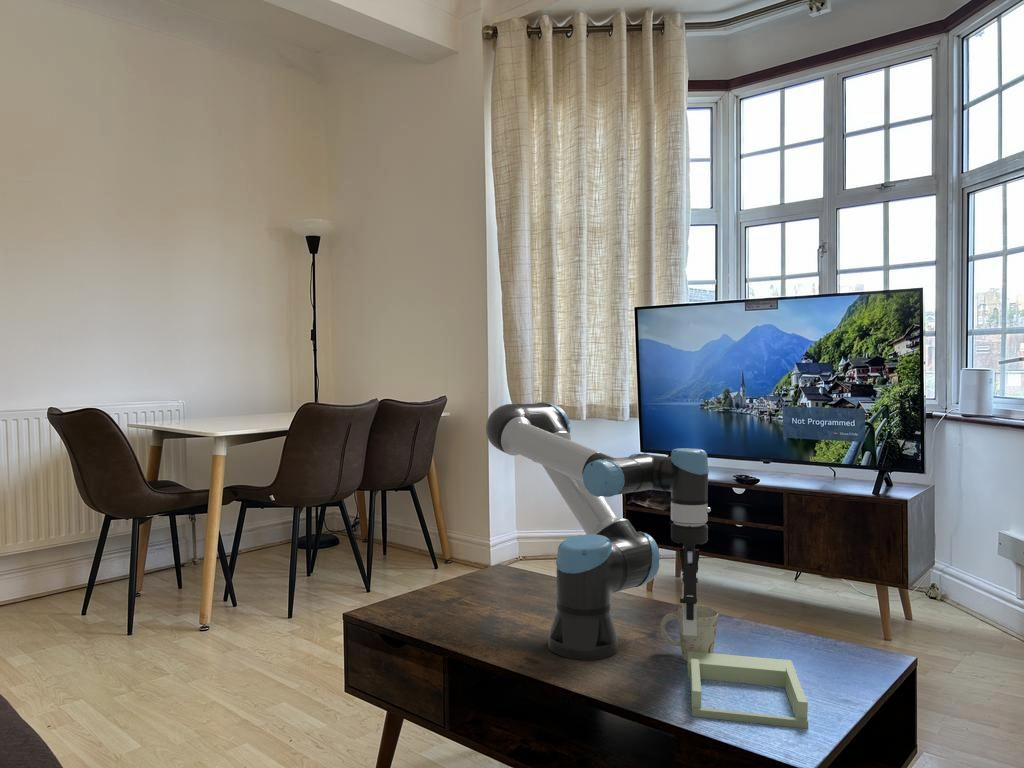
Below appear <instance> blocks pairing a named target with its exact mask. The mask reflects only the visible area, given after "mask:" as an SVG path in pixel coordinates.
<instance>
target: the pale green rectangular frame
mask: <svg viewBox="0 0 1024 768" xmlns="http://www.w3.org/2000/svg"><path fill="white" fill-rule="evenodd" d="M687 678H688V679H690V692H691V695H690V696H691V717H699V718H707V719H715V720H716V719H717V720H725V721H726V720H727V721H735V722H744V723H751V724H752V723H755V724H762V725H772V726H781V727H792V728H800V729H809V719H808V713H809V712H808V709H809V708H808V704H809V702H808V700H807V697H806V694H805V692H804V690H803V687H802V684H801V682H800V680H799V676H798V675H797V671H796V668H795V666H794V664H793V661H792V659H791V660H790V659H780V658H769V657H759V656H747V655H746V656H744V655H736V654H735V655H734V654H724V653H723V654H722V653H714V652H713V653H703V652H692V651H688V662H687ZM701 680H707V681H719V682H720V681H721V682H729V683H740V684H749V685H750V684H751V685H762V686H771V687H773V686H774V687H781V688H782V687H783V688H784V689H785V691H786V694H787V697H788V700H789V703H790V706H791V709H792V712H793V715H794V717H792V716H782V715H773V714H764V713H758V712H757V713H756V712H755V713H754V712H748V711H747V712H746V711H736V710H735V711H734V710H726V709H716V708H706V707H702V684H701Z"/></svg>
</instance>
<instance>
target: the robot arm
mask: <svg viewBox="0 0 1024 768" xmlns="http://www.w3.org/2000/svg"><path fill="white" fill-rule="evenodd" d="M569 424H571V422H570V419H569V417H568V415H567V413H566V411H565V410H564V409H563V408H562V407H560V406H559V405H557V404H555V403H548V402H544V401H541V402H536V403H507V404H502V405H500V406H499V407H497V408H495V409H494V410H493V411H492V412H491V413H490V415H489V417H488V419H487V421H486V427H485V430H486V431H485V432H486V436H487V439H488V441H489V443H490V444H491V445H492V446H493V447H495V449H497V450H499V451H501V452H503V453H505V454H508V455H510V456H518V455H519V456H522V457H524V458H527V459H529V460H530V461H532V462H534V463H536V464H537V463H538V464H540V465H542V467H543V468H544V470H545V472H546V474H547V475H548V476H549V478H550V479H551V481H552V483H553V484H554V486H555V487H556V489H557V490H558V492H559V494H560V495H561V497H562V499H564V501H565V503H566V505H567V506H568V507H569V509H570V511H571V513H572V514H573V516H574V517H575V519H576V520H577V522H578V523H579V525H580V526H581V528H582V530H583V531H584V533H585V534H584V535H582V534H578V535H573V536H570V537H567V538H566V539H564V540H563V541H561V542H560V543H559V545H558V546H557V554H556V555H557V556H556V561H555V564H556V565H555V566H556V610H555V614H554V617H553V620H552V623H551V626H550V629H549V632H548V635H547V648H548V649H549V651H551V652H553V653H554V654H556V655H558V656H561V657H563V658H568V659H572V660H586V661H591V660H600V659H606V658H608V657H611V656H613V655H615V654H616V653H618V651H619V638H618V633H617V631H616V626H615V624H614V621H613V620H614V619H613V618H612V617H613V616H612V614H611V599H612V598H611V594H614V593H618V592H621V591H625V590H628V589H631V588H639V587H641V586H643V585H645V584H647V583H650V582H651V581H653V579H654V578H656V576H657V574H658V572H659V569H660V560H661V555H660V554H661V553H660V549H659V546H658V544H657V542H656V540H655V539H654V537H652V536H651V535H650V534H648V533H647V532H642V531H636V529H635V527H634V526H633V525H632V523H631V522H630V520H629V519H627V518H622V517H620V516H618V514H617V513H616V512H615V510H614V509H613V507H612V505H611V504H610V502H609V501H608V499H607V498H609V497H613V496H617V495H623V494H629V493H638V492H643V491H649V490H650V491H652V490H653V491H660V492H669V493H670V521H672V523H671V524H670V539H671V541H672V542H673V543H677V544H682V548H679V560H680V570H681V572H682V573H681V576H682V579H681V581H682V585H681V586H682V591H681V592H682V593H681V595H682V596H681V598H679V603H680V604H681V606H683V635H692V636H697V605H698V604H697V602H698V598H697V584H698V583H699V579H698V577H697V573H699V562H700V549H696V545H704V544H706V543H707V542H708V541H709V526H708V524H707V522H708V520H709V519H708V517H709V515H708V513H710V512H711V511H712V510H711V507H708V506H709V505H708V501H709V499H708V489H709V487H708V483H709V472H710V470H709V463H708V453H707V452H706V450H703V449H700V448H689V447H688V448H687V447H685V448H684V447H683V448H680V447H679V448H674V449H672V451H671V454H670V456H665V455H658V454H657V455H655V454H649V453H646V452H645V453H632V454H630V455H629V456H628V457H617V458H616V457H613V456H610V455H608V454H605V453H602V452H600V451H598V450H594V449H593V448H589V447H587V446H585V445H583V444H579V443H577V442H574V441H572V440H571V439H572V437H571V434H570V433H571V426H569Z"/></svg>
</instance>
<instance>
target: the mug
mask: <svg viewBox="0 0 1024 768" xmlns="http://www.w3.org/2000/svg"><path fill="white" fill-rule="evenodd" d="M676 612H677V613H667V614H665V615H664V616H663V617H662V618H661V620H660V622H659V631H660V634H661V636H662V638H663V639H664V640H665V641H666V642H667V643H668V644H670V645H671V646H674V647H675V646H676V647H680V650H681V651H680V652H681V657H682V659H683V660H684V661H685V662H687V663H688V651H692V652H703V653H714V648H715V642H716V635H717V627H718V623H719V612H718V610H716V609H715V608H712V607H709V606H705V605H700V604H697V636H692V635H683V606H682V605H681V606H680V607H678V608H677V609H676ZM671 620H672V621H677V623H678V632H679V641H675V640H673V639H672V638H670V636H669V635H668V632H666V631H667V630H666V626H667V624H668V622H669V621H671Z"/></svg>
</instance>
